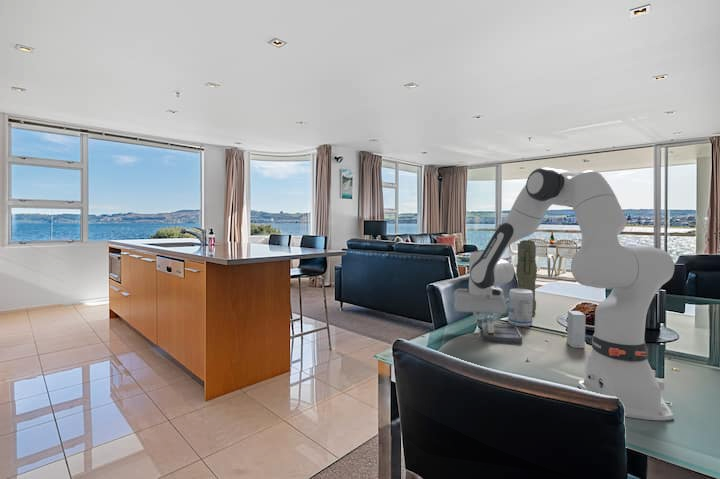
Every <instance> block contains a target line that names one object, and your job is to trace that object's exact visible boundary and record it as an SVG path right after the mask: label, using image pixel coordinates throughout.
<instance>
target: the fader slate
mask: <svg viewBox="0 0 720 479" xmlns="http://www.w3.org/2000/svg"><path fill="white" fill-rule="evenodd" d="M488 321H493V322H494V316H493V315H491V314H490V315H487V321H486V323H487V325H488Z"/></svg>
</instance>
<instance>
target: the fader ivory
mask: <svg viewBox="0 0 720 479" xmlns="http://www.w3.org/2000/svg"><path fill="white" fill-rule="evenodd" d="M487 330H488V333H494V321H488V329H487Z"/></svg>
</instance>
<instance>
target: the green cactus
mask: <svg viewBox="0 0 720 479" xmlns="http://www.w3.org/2000/svg"><path fill="white" fill-rule="evenodd" d="M517 249H518V250H517V251H518V252H517V256H518V259H517V264H516V273H515V276H516V279H517V280H516V289H527V290H531V291H533V311H532V317H533V316H535V315H536V308H537V301H536V279H537V275H538V274H537V272H538V270H537V269H538V265H537V263H536V256H537V254H536V251H537V247H536V244H535V241H533V240H529V239H527V240H526V239H525V240H524V239H522V240H519V243H518V246H517Z"/></svg>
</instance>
